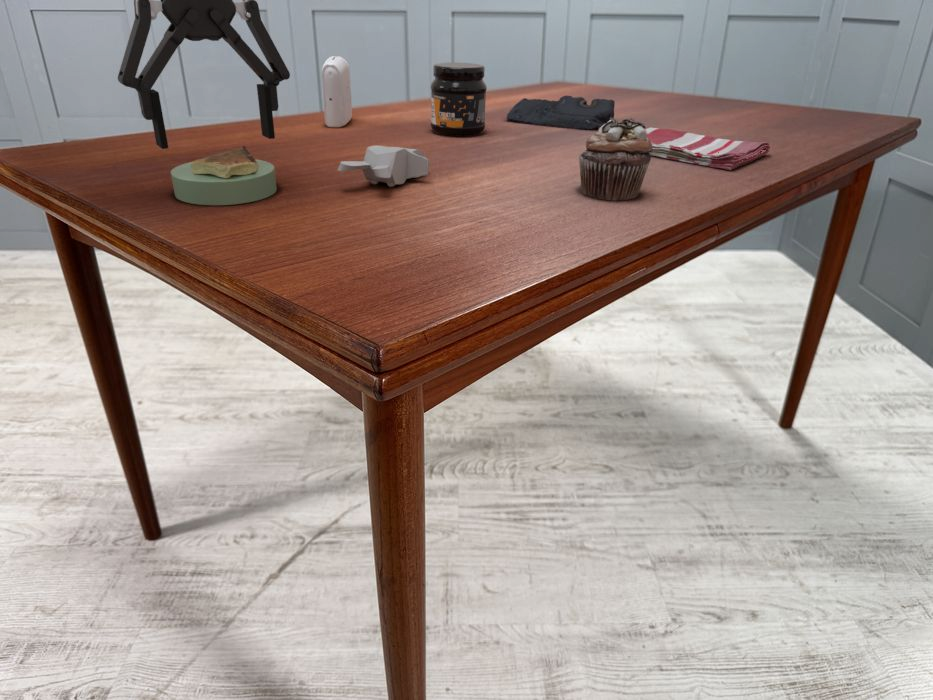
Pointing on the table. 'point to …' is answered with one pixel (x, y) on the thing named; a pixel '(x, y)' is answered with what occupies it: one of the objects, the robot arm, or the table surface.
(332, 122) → the photo printer
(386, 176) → the grey faceted piece
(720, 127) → the table surface
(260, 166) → the disc
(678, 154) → the dish towel
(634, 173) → the cupcake
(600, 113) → the dark slate chunk
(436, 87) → the supplement container
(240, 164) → the shard
